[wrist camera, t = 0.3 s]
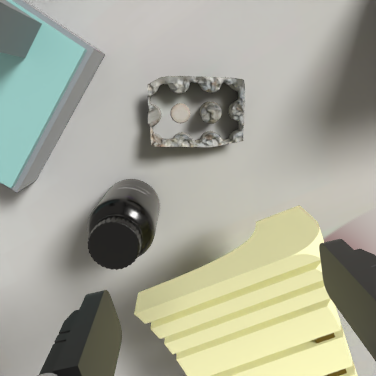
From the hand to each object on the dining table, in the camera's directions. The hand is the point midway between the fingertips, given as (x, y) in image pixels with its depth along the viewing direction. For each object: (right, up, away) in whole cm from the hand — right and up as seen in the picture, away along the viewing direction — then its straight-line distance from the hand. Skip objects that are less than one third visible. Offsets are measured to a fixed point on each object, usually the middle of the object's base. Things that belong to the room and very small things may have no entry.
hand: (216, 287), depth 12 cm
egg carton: (0, +13, +27) cm, 30 cm away
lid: (-20, +14, +21) cm, 32 cm away
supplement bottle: (-8, +2, +29) cm, 30 cm away
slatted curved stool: (+7, -11, +33) cm, 36 cm away
